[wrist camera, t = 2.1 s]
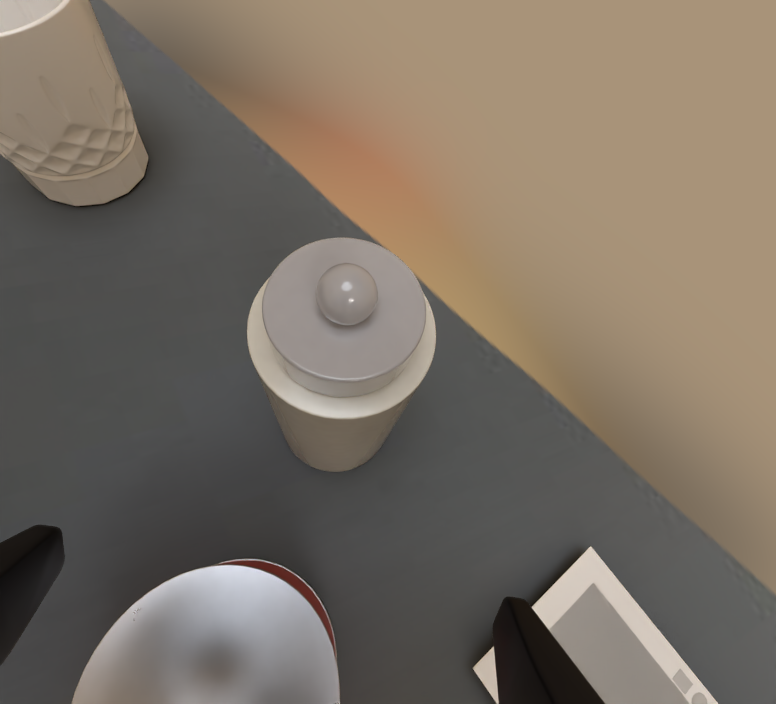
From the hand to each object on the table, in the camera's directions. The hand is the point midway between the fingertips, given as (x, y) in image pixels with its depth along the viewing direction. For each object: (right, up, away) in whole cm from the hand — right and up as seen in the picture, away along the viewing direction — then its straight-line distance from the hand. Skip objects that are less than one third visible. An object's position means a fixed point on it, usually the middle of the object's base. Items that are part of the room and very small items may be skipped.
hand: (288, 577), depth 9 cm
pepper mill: (-1, +1, +14) cm, 14 cm away
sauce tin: (-4, -9, +10) cm, 14 cm away
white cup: (-16, +16, +18) cm, 29 cm away
